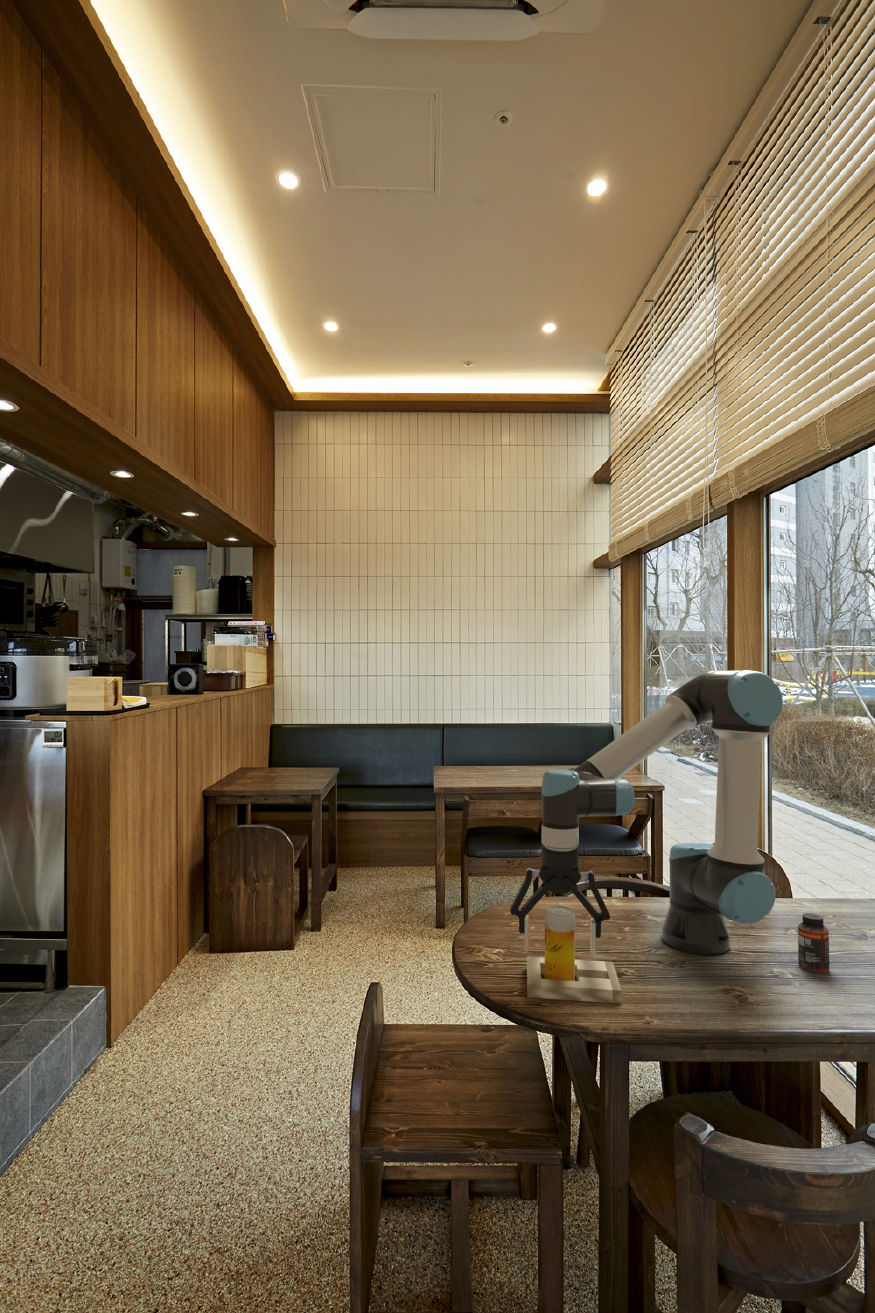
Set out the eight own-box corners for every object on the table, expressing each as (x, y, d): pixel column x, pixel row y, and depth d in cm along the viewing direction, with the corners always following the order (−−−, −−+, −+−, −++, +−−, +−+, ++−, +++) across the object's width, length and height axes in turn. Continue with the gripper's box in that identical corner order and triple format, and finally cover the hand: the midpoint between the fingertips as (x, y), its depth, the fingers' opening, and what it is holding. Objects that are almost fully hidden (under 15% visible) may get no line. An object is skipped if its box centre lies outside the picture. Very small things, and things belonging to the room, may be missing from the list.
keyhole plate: (612, 974, 141) (612, 962, 141) (621, 1003, 128) (621, 990, 128) (526, 968, 143) (527, 956, 144) (527, 997, 131) (527, 984, 131)
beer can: (541, 978, 139) (541, 905, 139) (569, 977, 139) (570, 905, 140) (548, 992, 133) (549, 916, 133) (578, 991, 133) (578, 915, 134)
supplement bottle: (826, 964, 147) (825, 913, 147) (832, 976, 141) (832, 922, 142) (795, 960, 149) (795, 909, 149) (800, 971, 143) (800, 918, 144)
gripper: (619, 844, 139) (618, 947, 139) (500, 839, 142) (499, 940, 142) (624, 853, 132) (624, 962, 131) (498, 848, 135) (498, 954, 134)
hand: (559, 951), depth 136 cm, fingers open, 13 cm apart
